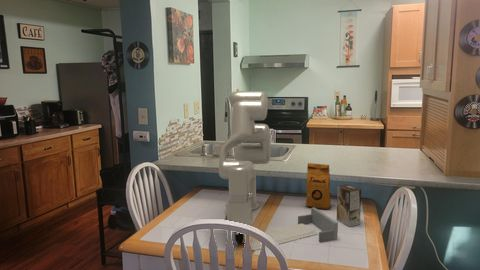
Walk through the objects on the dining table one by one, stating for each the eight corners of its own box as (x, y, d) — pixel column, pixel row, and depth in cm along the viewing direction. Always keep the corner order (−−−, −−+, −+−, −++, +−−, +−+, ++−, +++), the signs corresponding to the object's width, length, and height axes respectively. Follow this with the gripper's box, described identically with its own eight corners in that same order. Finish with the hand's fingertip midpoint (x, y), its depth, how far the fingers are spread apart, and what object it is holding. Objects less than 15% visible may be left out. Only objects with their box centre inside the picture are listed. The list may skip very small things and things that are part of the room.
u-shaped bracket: (297, 224, 160) (298, 209, 159) (313, 222, 162) (314, 207, 161) (319, 242, 143) (320, 225, 142) (337, 239, 145) (338, 222, 144)
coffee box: (360, 224, 159) (362, 189, 157) (349, 227, 157) (350, 191, 154) (346, 217, 167) (348, 183, 165) (335, 219, 165) (336, 185, 162)
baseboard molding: (319, 237, 149) (302, 226, 159) (320, 230, 148) (302, 220, 159) (254, 254, 135) (239, 241, 145) (254, 247, 134) (239, 234, 145)
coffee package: (328, 211, 175) (329, 167, 171) (303, 207, 180) (304, 164, 177) (332, 205, 184) (334, 162, 180) (308, 201, 189) (309, 160, 186)
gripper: (253, 192, 144) (253, 236, 147) (217, 196, 140) (218, 241, 142) (260, 198, 137) (260, 243, 140) (222, 202, 133) (223, 249, 135)
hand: (239, 242), depth 141 cm, fingers closed
